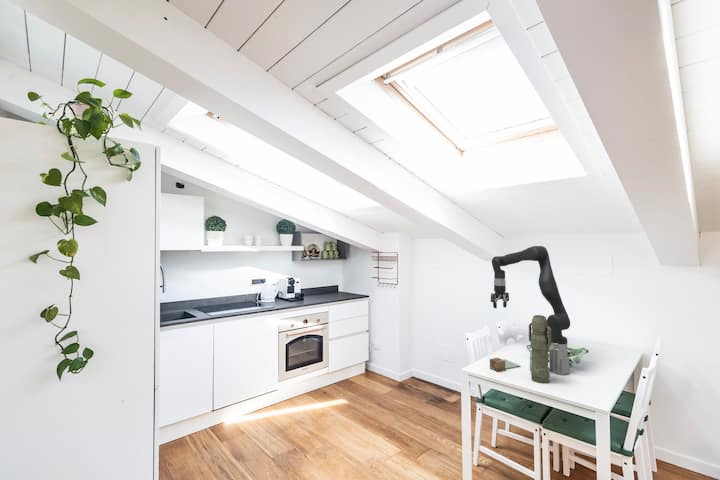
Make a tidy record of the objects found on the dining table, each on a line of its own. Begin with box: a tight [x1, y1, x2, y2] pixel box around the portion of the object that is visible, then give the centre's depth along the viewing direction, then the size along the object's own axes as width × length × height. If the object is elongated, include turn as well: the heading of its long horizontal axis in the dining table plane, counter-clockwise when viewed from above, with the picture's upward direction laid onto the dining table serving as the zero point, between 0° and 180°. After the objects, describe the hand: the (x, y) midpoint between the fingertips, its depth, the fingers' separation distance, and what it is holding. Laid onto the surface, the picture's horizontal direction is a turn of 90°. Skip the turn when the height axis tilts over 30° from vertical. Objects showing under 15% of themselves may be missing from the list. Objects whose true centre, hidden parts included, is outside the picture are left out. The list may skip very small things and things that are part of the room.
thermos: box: [528, 314, 551, 384], centre depth 188 cm, size 9×12×35 cm
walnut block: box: [489, 357, 506, 373], centre depth 203 cm, size 6×6×6 cm
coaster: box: [503, 358, 521, 371], centre depth 211 cm, size 12×12×1 cm
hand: (500, 307), depth 241 cm, fingers open, 8 cm apart
